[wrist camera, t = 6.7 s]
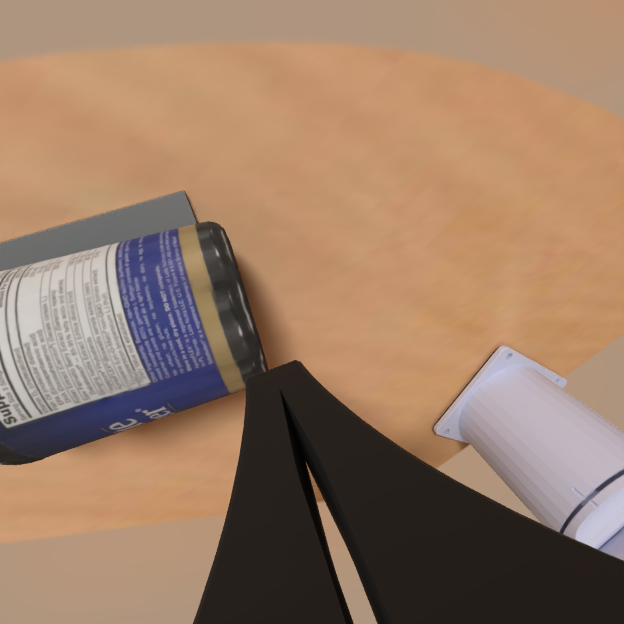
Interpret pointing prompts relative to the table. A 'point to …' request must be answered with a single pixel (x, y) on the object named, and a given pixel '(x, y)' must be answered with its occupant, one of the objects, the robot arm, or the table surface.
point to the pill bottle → (120, 339)
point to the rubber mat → (99, 231)
